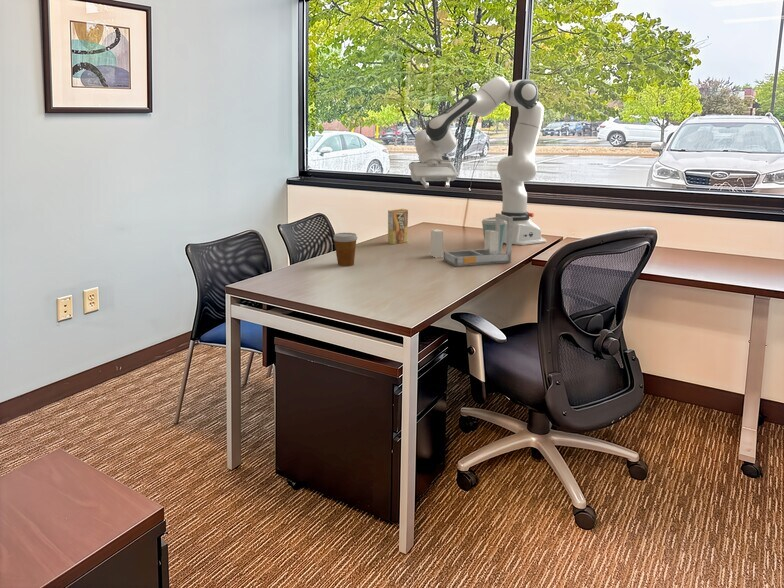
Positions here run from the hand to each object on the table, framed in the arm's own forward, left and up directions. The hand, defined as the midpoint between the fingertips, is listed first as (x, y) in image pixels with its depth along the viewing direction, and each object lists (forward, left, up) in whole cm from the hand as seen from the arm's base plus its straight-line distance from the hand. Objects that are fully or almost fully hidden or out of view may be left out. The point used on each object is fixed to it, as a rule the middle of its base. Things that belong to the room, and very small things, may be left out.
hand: (437, 187), depth 271 cm
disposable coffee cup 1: (+44, +15, -28) cm, 54 cm away
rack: (-8, +26, -27) cm, 38 cm away
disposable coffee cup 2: (-22, +12, -28) cm, 37 cm away
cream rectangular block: (+4, +12, -27) cm, 30 cm away
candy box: (+10, -22, -28) cm, 37 cm away
